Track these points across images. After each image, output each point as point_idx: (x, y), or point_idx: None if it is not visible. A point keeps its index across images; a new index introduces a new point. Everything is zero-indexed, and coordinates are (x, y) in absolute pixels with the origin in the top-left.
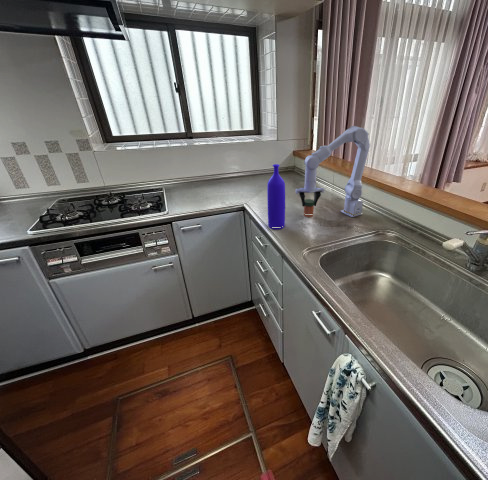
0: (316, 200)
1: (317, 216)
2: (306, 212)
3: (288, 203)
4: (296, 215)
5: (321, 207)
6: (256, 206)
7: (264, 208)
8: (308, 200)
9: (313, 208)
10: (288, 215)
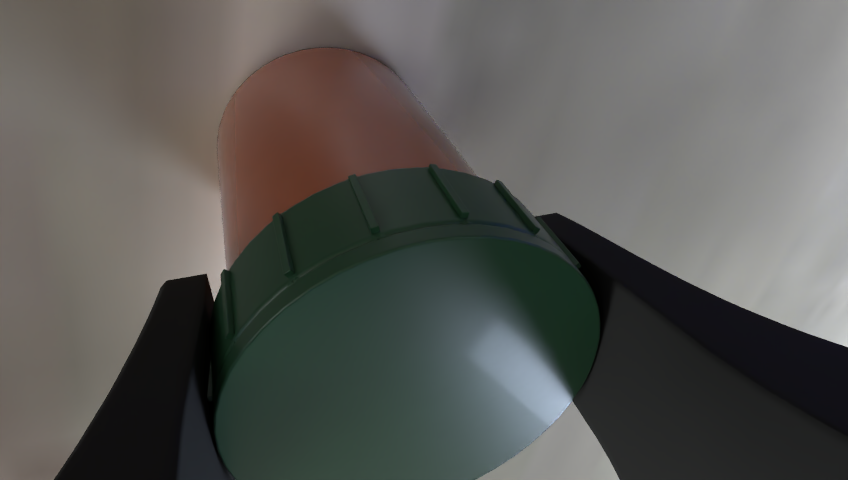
0: (136, 442)
1: (106, 84)
2: (417, 109)
3: (523, 464)
4: (549, 133)
5: (40, 473)
6: (844, 341)
7: (810, 311)
8: (436, 432)
9: (238, 208)
10: (668, 130)
